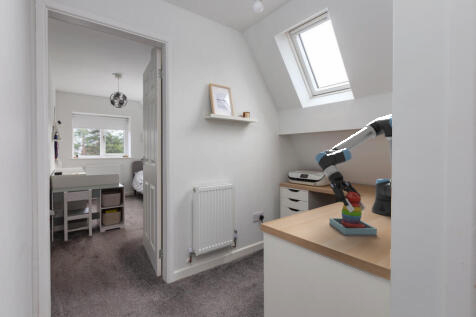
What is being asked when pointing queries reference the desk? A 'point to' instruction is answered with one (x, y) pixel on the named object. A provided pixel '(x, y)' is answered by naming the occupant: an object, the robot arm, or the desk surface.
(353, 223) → the stacking bear
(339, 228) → the blue-grey square tray
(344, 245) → the desk surface
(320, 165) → the robot arm
